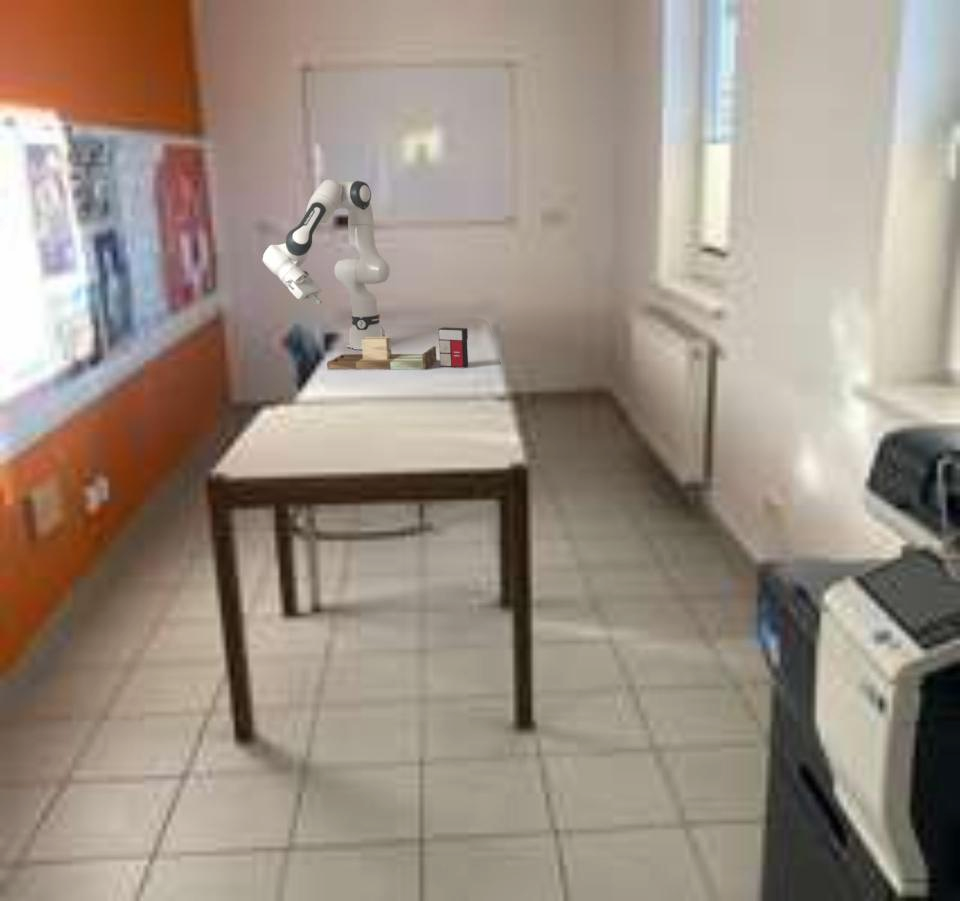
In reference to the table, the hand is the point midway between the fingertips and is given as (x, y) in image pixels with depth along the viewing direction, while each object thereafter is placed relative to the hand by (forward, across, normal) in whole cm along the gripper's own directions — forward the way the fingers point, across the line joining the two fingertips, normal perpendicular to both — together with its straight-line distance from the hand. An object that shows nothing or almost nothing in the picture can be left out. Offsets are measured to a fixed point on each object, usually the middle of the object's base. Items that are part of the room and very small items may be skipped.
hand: (319, 303), depth 396 cm
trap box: (+35, -1, 0) cm, 35 cm away
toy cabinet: (+56, -4, -21) cm, 61 cm away
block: (+32, -1, -1) cm, 32 cm away
